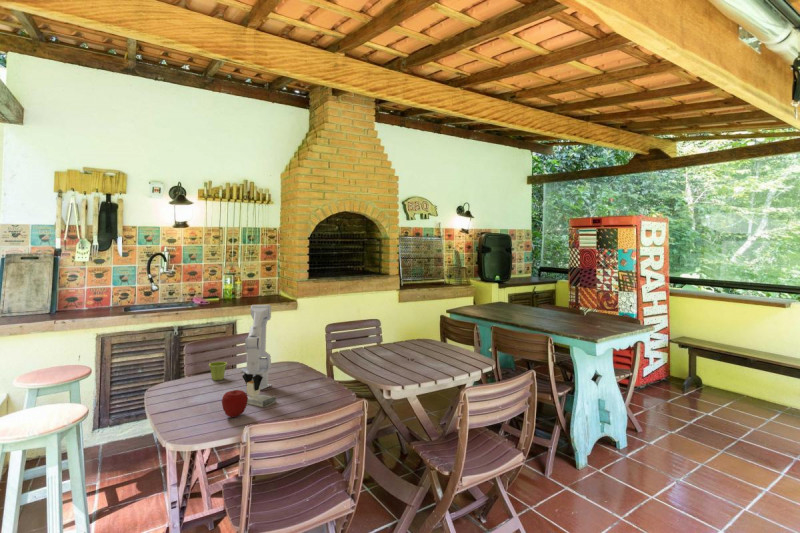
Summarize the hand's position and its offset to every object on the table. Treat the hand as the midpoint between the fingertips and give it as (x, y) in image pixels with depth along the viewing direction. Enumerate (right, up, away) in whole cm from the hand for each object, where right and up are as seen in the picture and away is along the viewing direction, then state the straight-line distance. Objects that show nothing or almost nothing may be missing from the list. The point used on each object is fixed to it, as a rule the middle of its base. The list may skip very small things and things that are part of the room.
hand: (253, 389), depth 202 cm
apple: (-2, -7, -17) cm, 19 cm away
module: (0, -2, 0) cm, 2 cm away
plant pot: (-32, -4, +34) cm, 47 cm away
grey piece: (+3, -6, -1) cm, 7 cm away
